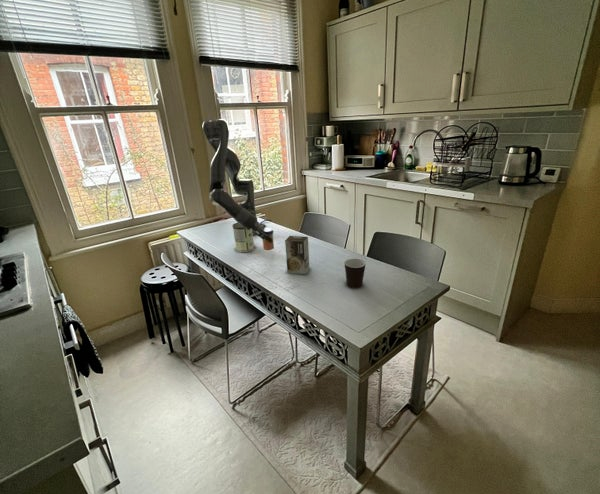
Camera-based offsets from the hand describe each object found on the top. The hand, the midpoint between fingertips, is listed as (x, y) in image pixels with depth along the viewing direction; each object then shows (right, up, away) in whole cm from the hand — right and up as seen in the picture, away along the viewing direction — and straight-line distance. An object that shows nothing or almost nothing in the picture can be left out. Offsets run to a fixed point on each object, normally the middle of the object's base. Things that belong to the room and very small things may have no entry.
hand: (271, 239), depth 161 cm
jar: (-2, -4, +2) cm, 5 cm away
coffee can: (-16, -5, +14) cm, 21 cm away
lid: (-2, +4, -2) cm, 5 cm away
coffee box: (+14, -16, -14) cm, 25 cm away
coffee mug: (+38, -20, -27) cm, 51 cm away
